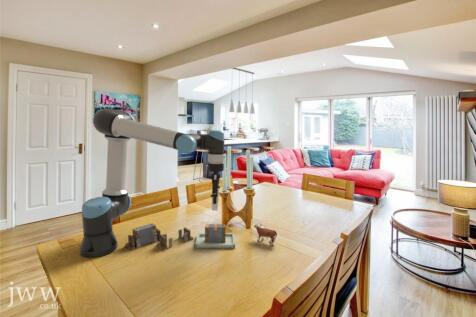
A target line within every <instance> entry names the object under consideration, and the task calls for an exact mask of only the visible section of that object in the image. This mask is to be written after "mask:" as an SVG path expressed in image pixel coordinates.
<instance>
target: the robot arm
mask: <svg viewBox="0 0 476 317" xmlns="http://www.w3.org/2000/svg"><path fill="white" fill-rule="evenodd" d="M92 123H93V127H94V129H95V130H96V131H97V132H99V133H100V134H103V135H104V138H105V139H106V140H107V154H106V155H107V156H106V157H107V158H106V180H105V188H104V189H103V190H102V195H101V196H97V197H95V198H89V199H88V200H86V201H84V202H83V204H82V206H81V218H82V229H83V230H82V231H83V237H82V241H81V244H80V247H79V253H80V256H81V257H83V258H89V259H91V258H92V259H93V258H100V257H103V256H106V255H109V254H111V253H113V252H114V251H116V250H117V248H118V246H119V245H118V240H117V238H116V235H115V233H114V231H113V221H115V220H116V219H118V218H119V217H121V216H123V215H124V214H126V213H127V212H128V211H129V209H130V208H131V206H132V199H131V196H129V191H128V189H126V175H127V174H126V173H127V154H128V153H127V151H128V142H129V141H130V140H131V139H134V140H137V141H142V142H145V143H149V144H153V145H158V146H162V147H166V148H169V149H173V150H177V151H178V152H180V153H182V154H191V153H193V152H194V151H207V152H208V153H207V162H208V163H207V170H208V171H209V172H211V184H212V188H211V195H210V198H211V211H218V209H219V208H218V207H219V196H220V193H219V192H220V191H219V190H220V188H221V187H220V186H219V184H220V178H221V174H220V173H221V172H224V171H225V169H224V168H225V164H224V161H225V158H226V155H225V132H224V131H223V130H220V129H219V130H216V129H215V130H213V129H212V130H210V129H209V130H208V133H206V134H202V133H183V132H179V131H176V130H172V129H168V128H163V127H160V126H156V125H152V124H148V123H143V122H140V121H136V120H135V117H134V116H133V115H132V114H131V113H130V112H128V111H125V110H122V109H112V108H102V109H100V110H98V111H96V113H95V114H94V115H93V118H92ZM212 172H213V173H212Z"/></svg>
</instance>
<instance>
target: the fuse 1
mask: <svg viewBox="0 0 476 317" xmlns="http://www.w3.org/2000/svg"><path fill="white" fill-rule="evenodd" d="M156 228H157V226H156V224H154V223H153V222H152V223H149V224H143V225H142V226H141V225H140V226H137V227H133V228H132V235H133V238H134V246H135V248H137V241H136V239H137V238H140V243H141V246H145V245H148V244H151V243H154V234H155V233H156Z"/></svg>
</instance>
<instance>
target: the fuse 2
mask: <svg viewBox="0 0 476 317" xmlns="http://www.w3.org/2000/svg"><path fill="white" fill-rule="evenodd" d="M204 226H205V227H204V233H205V243H225V237H226V233H227V231H226V228H227V227H226V223H205V224H204Z"/></svg>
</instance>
